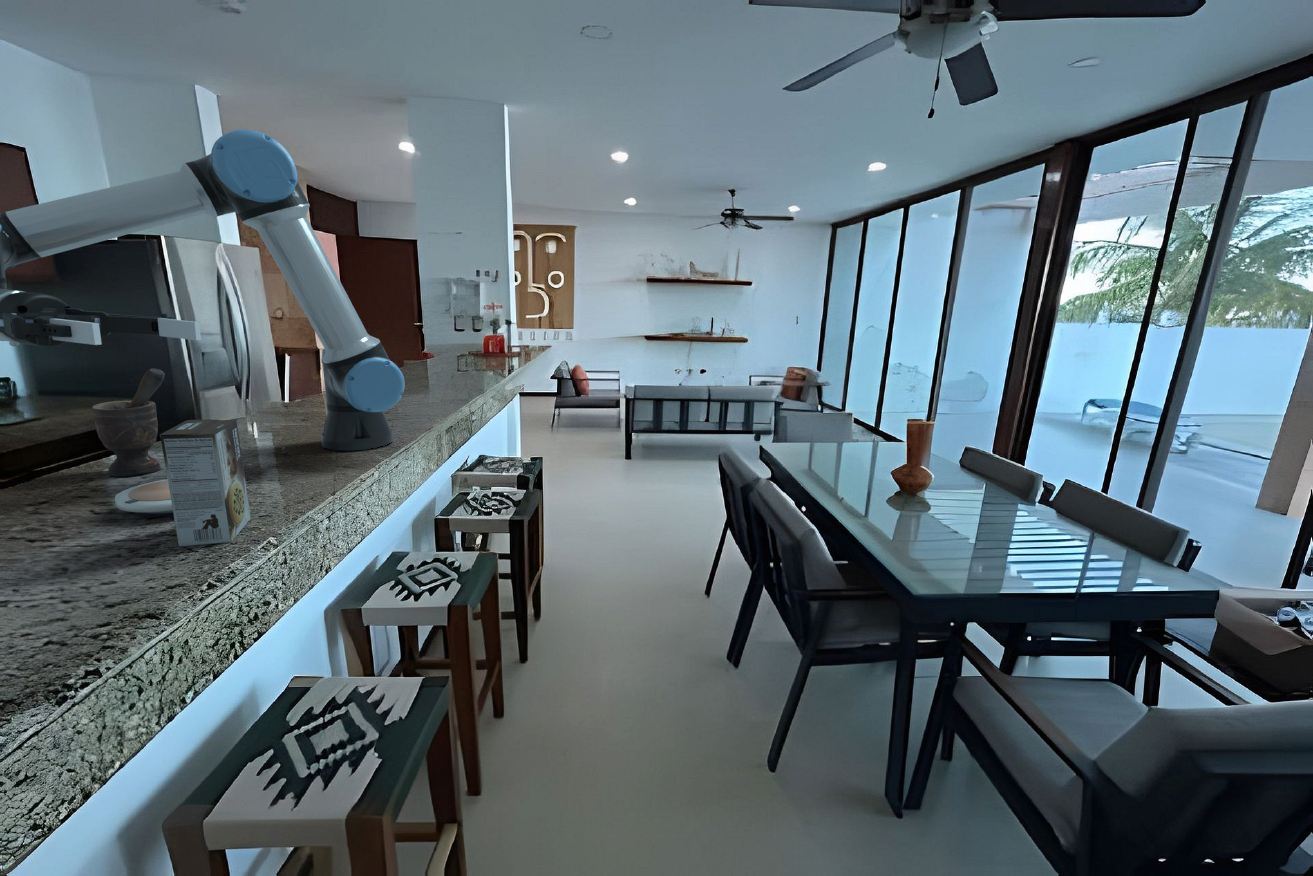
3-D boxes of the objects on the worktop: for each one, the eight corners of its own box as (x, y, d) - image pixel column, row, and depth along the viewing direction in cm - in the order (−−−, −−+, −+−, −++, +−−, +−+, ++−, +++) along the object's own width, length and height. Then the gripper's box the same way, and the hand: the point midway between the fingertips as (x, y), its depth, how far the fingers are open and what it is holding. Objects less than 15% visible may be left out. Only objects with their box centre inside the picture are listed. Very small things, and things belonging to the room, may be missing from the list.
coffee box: (202, 522, 85) (185, 419, 81) (252, 519, 87) (238, 418, 83) (176, 547, 76) (156, 433, 73) (232, 542, 79) (216, 431, 75)
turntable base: (184, 493, 96) (183, 485, 96) (231, 500, 94) (230, 491, 94) (118, 513, 87) (116, 504, 86) (169, 521, 85) (168, 512, 84)
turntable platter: (185, 479, 98) (184, 471, 98) (250, 488, 95) (249, 480, 95) (91, 505, 85) (89, 497, 84) (164, 517, 82) (162, 508, 82)
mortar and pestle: (192, 462, 113) (176, 364, 108) (176, 475, 105) (159, 369, 100) (117, 467, 108) (98, 364, 103) (95, 480, 100) (73, 370, 96)
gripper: (122, 340, 94) (233, 353, 91) (-94, 349, 70) (48, 367, 67) (116, 294, 92) (229, 306, 89) (-108, 287, 68) (37, 303, 65)
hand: (152, 332), depth 78 cm, fingers open, 13 cm apart
